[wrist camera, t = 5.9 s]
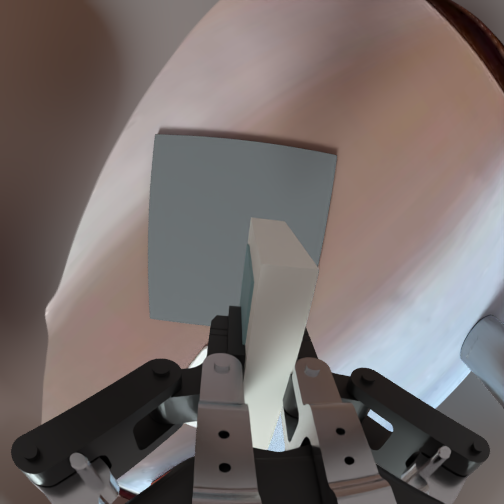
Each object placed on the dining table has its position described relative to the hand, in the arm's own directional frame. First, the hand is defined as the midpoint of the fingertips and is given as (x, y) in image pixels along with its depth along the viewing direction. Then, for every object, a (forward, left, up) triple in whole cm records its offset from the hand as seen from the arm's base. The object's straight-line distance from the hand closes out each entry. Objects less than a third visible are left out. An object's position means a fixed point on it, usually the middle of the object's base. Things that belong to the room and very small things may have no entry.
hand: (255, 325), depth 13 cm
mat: (+1, 0, -14) cm, 14 cm away
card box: (0, 0, -2) cm, 2 cm away
